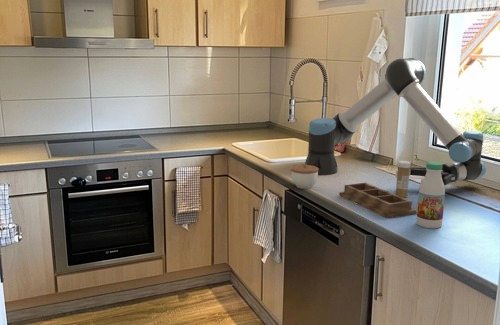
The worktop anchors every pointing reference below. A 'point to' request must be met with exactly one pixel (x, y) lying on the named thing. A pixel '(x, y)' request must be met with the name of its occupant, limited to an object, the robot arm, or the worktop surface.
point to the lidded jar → (304, 175)
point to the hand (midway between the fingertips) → (408, 178)
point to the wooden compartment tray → (378, 200)
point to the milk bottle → (431, 197)
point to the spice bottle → (402, 178)
